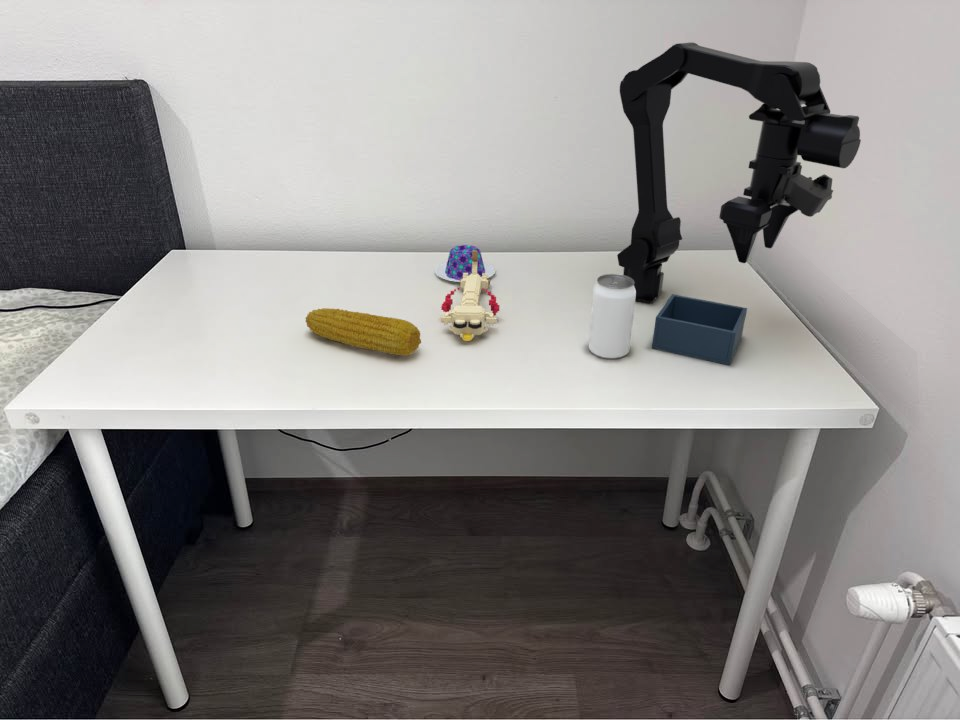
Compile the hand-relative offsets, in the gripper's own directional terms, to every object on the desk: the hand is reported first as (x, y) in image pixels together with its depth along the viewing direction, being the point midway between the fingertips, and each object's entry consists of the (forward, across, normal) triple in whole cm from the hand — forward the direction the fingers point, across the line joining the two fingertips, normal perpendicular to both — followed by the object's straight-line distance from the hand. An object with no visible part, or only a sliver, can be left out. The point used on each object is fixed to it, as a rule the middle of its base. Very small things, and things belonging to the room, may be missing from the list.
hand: (755, 254), depth 112 cm
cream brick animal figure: (+14, -26, +38) cm, 48 cm away
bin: (+14, -8, +3) cm, 17 cm away
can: (+14, -20, +12) cm, 28 cm away
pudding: (+15, -13, +52) cm, 55 cm away
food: (+14, -47, +42) cm, 65 cm away
